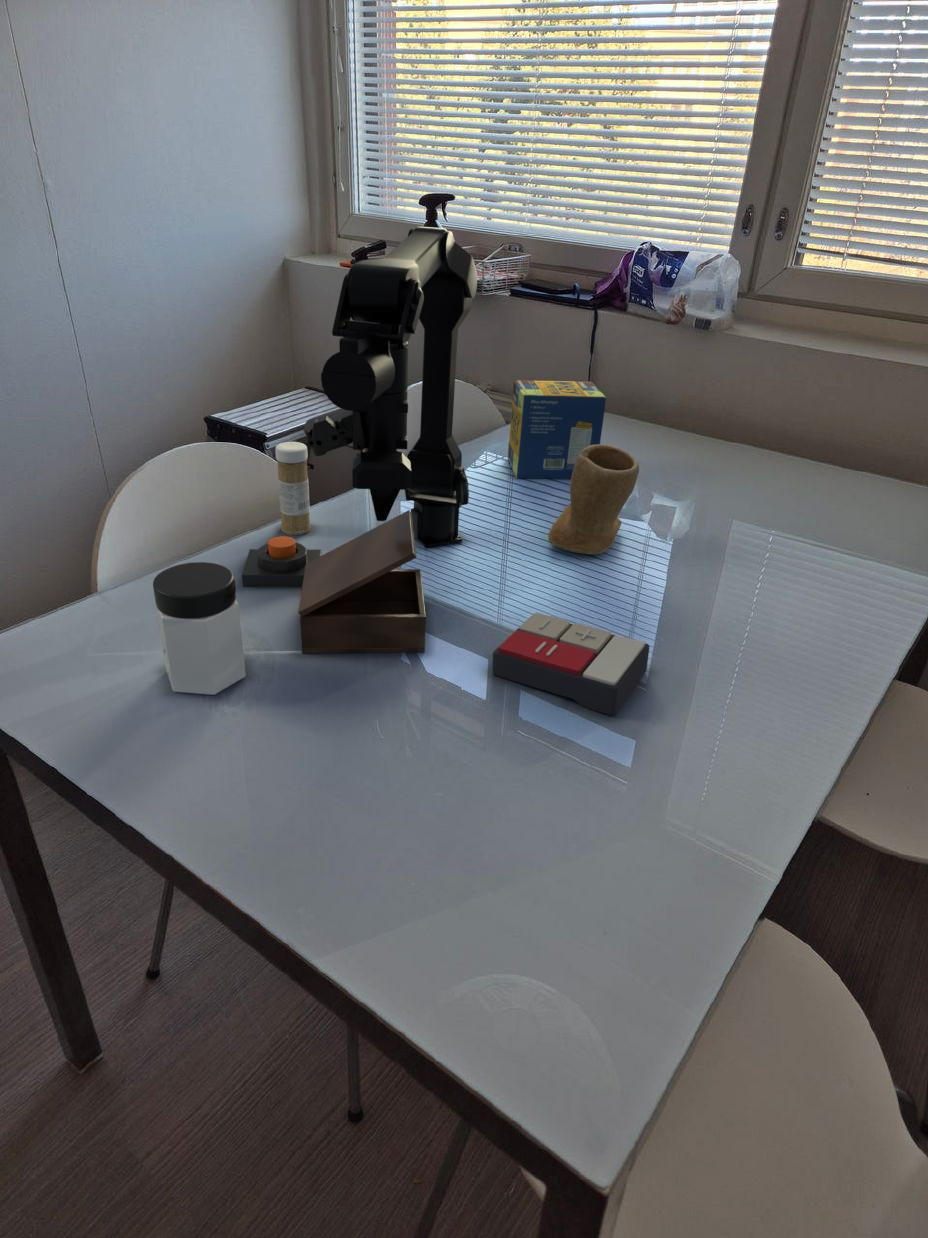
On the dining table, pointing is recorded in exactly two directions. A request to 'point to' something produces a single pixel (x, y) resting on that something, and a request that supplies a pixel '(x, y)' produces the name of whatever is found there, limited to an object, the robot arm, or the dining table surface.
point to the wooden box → (370, 618)
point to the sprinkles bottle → (293, 487)
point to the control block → (276, 568)
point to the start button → (281, 547)
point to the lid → (357, 562)
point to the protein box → (553, 426)
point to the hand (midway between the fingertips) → (381, 519)
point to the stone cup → (595, 500)
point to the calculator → (573, 661)
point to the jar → (199, 627)
